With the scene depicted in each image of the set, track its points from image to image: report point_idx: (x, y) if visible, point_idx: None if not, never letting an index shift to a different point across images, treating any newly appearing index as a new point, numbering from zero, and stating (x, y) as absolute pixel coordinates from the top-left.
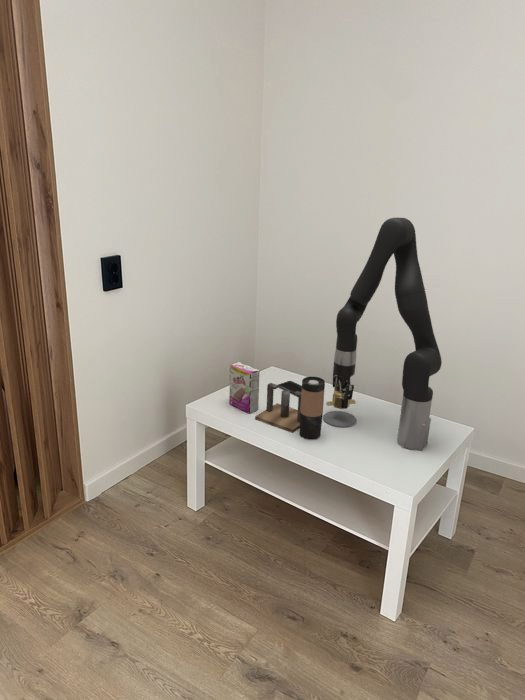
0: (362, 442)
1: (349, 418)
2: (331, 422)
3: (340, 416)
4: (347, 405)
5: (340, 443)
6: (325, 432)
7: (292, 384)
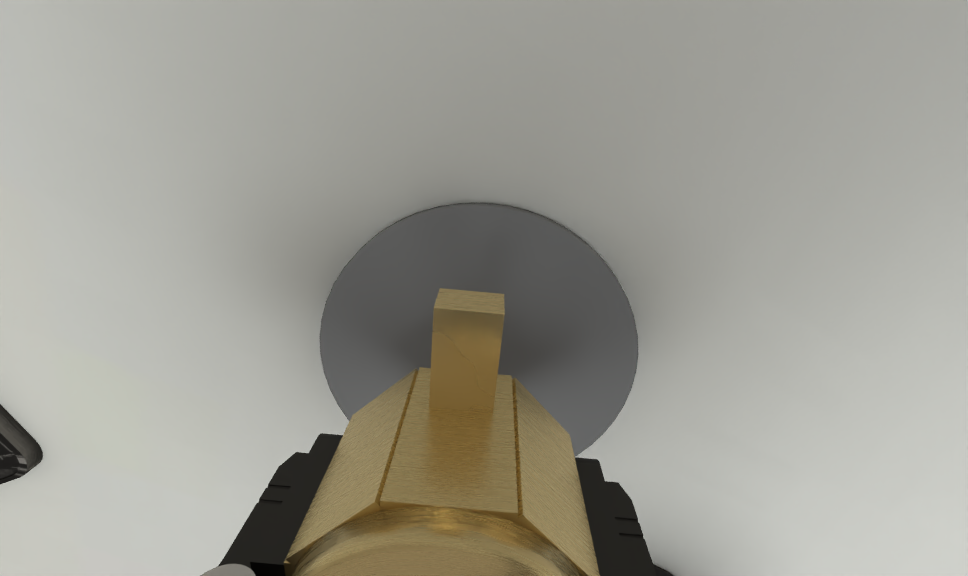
0: (926, 364)
1: (511, 282)
2: None
3: None
4: (635, 515)
5: (827, 506)
6: None
7: None
